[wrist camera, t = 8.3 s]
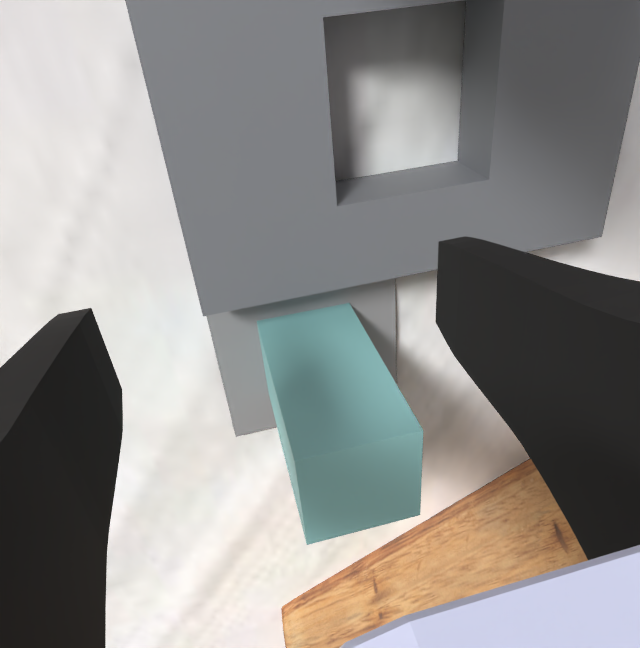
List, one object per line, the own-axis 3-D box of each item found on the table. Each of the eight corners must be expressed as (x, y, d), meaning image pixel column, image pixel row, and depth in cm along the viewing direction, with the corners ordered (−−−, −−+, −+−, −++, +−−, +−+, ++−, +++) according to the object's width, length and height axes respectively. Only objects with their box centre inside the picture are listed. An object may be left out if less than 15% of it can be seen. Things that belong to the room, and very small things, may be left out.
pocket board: (623, -141, 17) (686, -159, 15) (563, 214, 24) (601, 236, 22) (106, -99, 15) (97, -113, 13) (199, 284, 21) (203, 316, 19)
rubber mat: (391, 247, 22) (394, 251, 22) (393, 393, 27) (396, 398, 27) (199, 284, 21) (200, 289, 21) (235, 431, 26) (235, 436, 25)
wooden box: (379, 679, 43) (455, 929, 32) (268, 601, 34) (320, 913, 23) (718, 492, 40) (936, 691, 29) (698, 351, 31) (1007, 561, 20)
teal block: (349, 302, 23) (423, 430, 16) (353, 376, 25) (420, 514, 19) (256, 321, 22) (294, 461, 16) (268, 394, 24) (307, 544, 18)
